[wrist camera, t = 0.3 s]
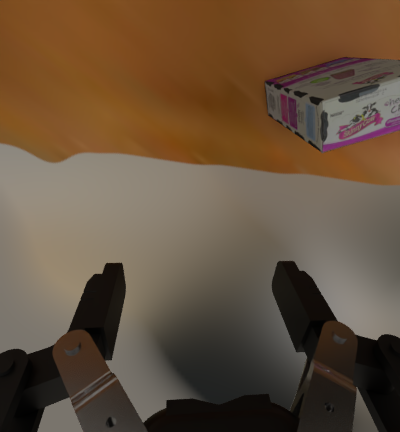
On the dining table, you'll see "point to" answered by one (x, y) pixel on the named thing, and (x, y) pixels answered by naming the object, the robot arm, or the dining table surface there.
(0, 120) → the dining table surface
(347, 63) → the candy bar box
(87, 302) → the robot arm
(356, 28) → the dining table surface
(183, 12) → the dining table surface
